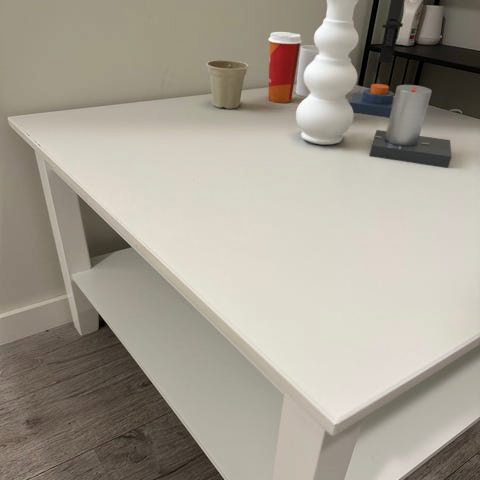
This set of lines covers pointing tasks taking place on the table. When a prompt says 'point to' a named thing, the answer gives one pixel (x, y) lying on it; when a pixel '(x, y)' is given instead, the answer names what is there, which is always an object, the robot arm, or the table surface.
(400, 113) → the dial
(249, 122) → the table surface
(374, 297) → the table surface
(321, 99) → the vase
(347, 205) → the table surface
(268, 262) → the table surface
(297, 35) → the paper cup
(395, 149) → the control panel
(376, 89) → the button
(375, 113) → the block
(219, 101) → the flower pot
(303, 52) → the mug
